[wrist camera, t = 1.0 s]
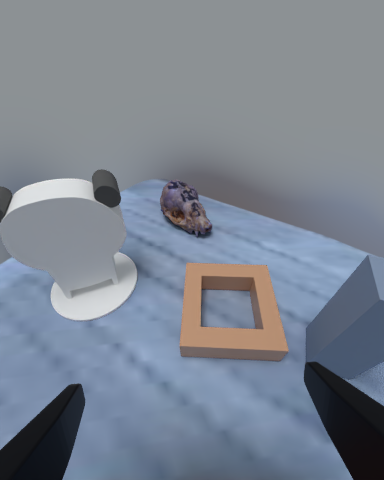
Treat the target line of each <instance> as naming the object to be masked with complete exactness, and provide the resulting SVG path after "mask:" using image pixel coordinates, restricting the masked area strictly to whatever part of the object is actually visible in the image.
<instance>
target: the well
mask: <svg viewBox="0 0 384 480" xmlns="http://www.w3.org/2000/svg"><path fill="white" fill-rule="evenodd" d="M201 289H216V290H245V291H250V296H251V302H252V308H253V314H254V320H255V326H256V329H241V328H217V327H201ZM288 351H289V350H288V346H287V342H286V338H285V334H284V330H283V326H282V323H281V319H280V315H279V311H278V307H277V303H276V299H275V295H274V291H273V287H272V283H271V279H270V275H269V271H268V267H267V265H241V264H208V263H187V265H186V277H185V289H184V301H183V313H182V324H181V336H180V352H181V356H184V357H205V358H226V359H247V360H268V361H281V360H282V358H283V357H284V356H285V355H286V354H287V353H288Z"/></svg>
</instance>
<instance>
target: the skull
mask: <svg viewBox="0 0 384 480" xmlns="http://www.w3.org/2000/svg"><path fill="white" fill-rule="evenodd" d="M160 204H161V211H162V212H163V214H164V215H165V216H167V217H168V218H169V219H170V220H171V221H172V222H173V223H174V224H175V225H178V226H180V227H181V228H183V229H184V230H186V231H188V232H190V233H191V234H192V230H194V231H195V233H196V237H197V236H198V232H199V231H200V232H201V234H205V233H204V232H210V231H211V229H212V224H211V223H210V221H209V220H208V219H207V217H206V215H205V210H204V208H203V207H202V204H200V203H199V201H198V193H197V191H196V190H195V188H194V187H193V186H191V185H188V184H186V183H183V182H181V181H179V180H171V181H169V182H168V183H167V185H166V186H165V187H164V188H163V191H162V195H161V198H160ZM172 214H174V215H175V217H173V216H172ZM177 214H178V215H177Z"/></svg>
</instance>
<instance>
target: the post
mask: <svg viewBox="0 0 384 480" xmlns="http://www.w3.org/2000/svg"><path fill="white" fill-rule="evenodd" d="M312 361H316V362H318V363H320V364H321V365H323V366H324V367H326V368H327V369H329V370H330V371H332V372H333V373H335V374H336V375H338V376H340V377H343V378H345V379H348V380H349V379H351V378H353V377H355V376H357V375H359V374H361V373H363V372H364V371H366V370H368V369H370V368H372V367H374V366H376V365H378V364H380V363H382V362H383V361H384V258H381V257H377V256H372V255H367V257H366V258H365V259H364V260H363V261H362V263H361V264H360V265H359V266H358V267H357V268H356V270H355V271H354V272H353V273H352V274H351V276H350V277H349V278H348V279H347V280H346V282H345V283H344V284H343V285H342V286H341V288H340V289H339V290H338V291H337V292H336V294H335V295H334V296H333V297H332V298H331V299H330V301H329V302H328V303H327V304H326V305H325V307H324V308H323V309H322V310H321V311H320V313H319V314H318V315H317V316H316V317H315V319H314V320H313V321H312V322H311V323H310V325H309V326H308V327H307V328H306V362H312Z"/></svg>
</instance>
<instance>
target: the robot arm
mask: <svg viewBox="0 0 384 480" xmlns="http://www.w3.org/2000/svg"><path fill="white" fill-rule="evenodd" d="M304 382H305V385H306V387H307V390H308V392H309V394H310V396H311V398H312V401H313V403H314V405H315V407H316V410H317V412H318V414H319V416H320V418H321V421H322V423H323V425H324V427H325V429H326V431H327V433H328V435H329V436H330V438H331V440H332V442H333V444H334V445H335V447H336V449H337V451H338V453H339V454H340V456H341V458H342V460H343V462H344V463H345V465H346V467H347V469H348V471H349V472H350V474H351V476H352V478H353V480H384V406H383V405H381V404H380V403H378V402H377V401H375V400H374V399H372V398H371V397H369V396H368V395H366V394H365V393H363V392H362V391H360V390H359V389H357V388H356V387H354V386H353V385H351V384H350V383H348V382H347V381H345V380H344V379H342V378H341V377H339V376H338V375H336V374H335V373H333V372H332V371H330V370H329V369H327V368H326V367H324V366H323V365H321V364H320V363H318V362H316V361H312V362H306V363H305V370H304ZM84 406H85V397H84V392H83V388H82V385H81V384H71V385H69V386H67V387H66V388H65V389H64V390H63V391H62V392H61V393H60V394H59V395H58V396H57V397H56V398H55V399H54V400H53V401H52V402H51V403H49V404H48V405H47V406H46V407H45V408H44V409H43V410H42V411H41V412H40V413H39V414H38V415H37V416H36V417H35V418H34V419H33V420H32V421H30V422H29V423H28V424H27V425H26V426H25V427H24V428H23V429H22V430H21V431H20V432H19V433H18V434H17V435H16V436H15V437H14V438H13V439H11V440H10V441H9V442H8V443H7V444H6V445H5V446H4V447H3V448H2V449H1V450H0V480H62V479H63V476H64V473H65V471H66V468H67V465H68V462H69V459H70V457H71V453H72V450H73V446H74V443H75V439H76V436H77V432H78V428H79V425H80V421H81V417H82V414H83V410H84Z"/></svg>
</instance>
